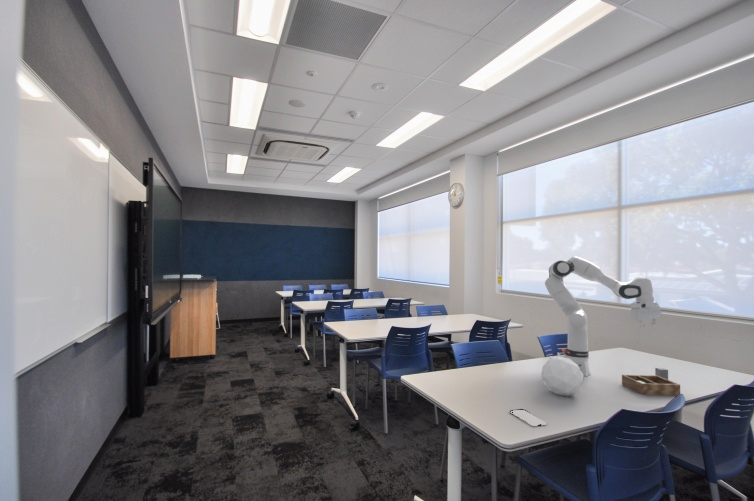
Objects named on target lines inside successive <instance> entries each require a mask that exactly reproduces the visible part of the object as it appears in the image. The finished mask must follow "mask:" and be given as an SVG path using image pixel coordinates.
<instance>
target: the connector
mask: <svg viewBox="0 0 754 501" xmlns="http://www.w3.org/2000/svg"><path fill="white" fill-rule="evenodd" d="M654 375H657V376H660V377H662V378H665V379H667V380H669V369H667V368H664V367H655V371H654Z"/></svg>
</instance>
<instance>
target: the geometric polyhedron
mask: <svg viewBox="0 0 754 501" xmlns="http://www.w3.org/2000/svg"><path fill="white" fill-rule="evenodd" d="M559 356H560V355H559ZM559 356H558V355H557V356H553V357H554V358H551V359H550V358H549V359H548V360H547V361H546V362H545V363H544V364H543V365H542V369H541V376H540V377H541V378H542V381H543V383H544V384H545V387H546V388H547V389H549V390H550V391H551V392H552V393H554V394H556V395H560V396H563V397H569V396H572V395H574V394H576V393H577V394H578V393H579V391H580V389H581V388H582V387H583V382H584V377H583V373H582V371H581V370H580V368H579V367H578V365H577V364H575V363H574V362H573V361H572V360H571V359H569V358H564V357H559Z"/></svg>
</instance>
